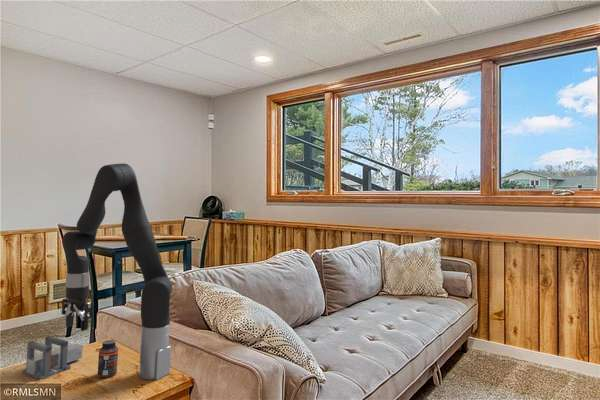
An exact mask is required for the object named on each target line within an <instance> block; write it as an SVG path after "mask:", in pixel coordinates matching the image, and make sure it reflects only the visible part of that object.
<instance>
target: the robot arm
mask: <svg viewBox="0 0 600 400" xmlns="http://www.w3.org/2000/svg"><path fill="white" fill-rule="evenodd" d="M137 179H138V178H137V176H136V172H135V171H134V168H133V167H132V166H131V165H129V164H128V163H125V162H123V163H112V164H106V165H103V166H102V167H100V168H99V170H98V172H97V174H96V176H95V178H94V181H93V185H92V189H91V191H90V195H89V198H88V201H87V204H86V206H85V208H84V210H83V211H82V213H81V215H80V217H79V218H78V220H77V222H76V229H77V230H75V231H73V230H72V231H67V232H66V233H64V234H63V236H62V238H61V239H62V240H61V244H62V248H63V250H64V251H63V252H64V253H65V259H66V277H65V298H62V302H61V315H64V317H65V327H66V328H69V327H73V325H74V323H73V322H74V319H73V318H74V314H76V315H77V316H79V318H80V331H82V332H83V331H84V332H85V331H87V330H88V328H89V319H90V320H91V319H93V318H94V316H93V315H94V314H93V313H94V311H93V309H94V308H93V301H88V302H87V298H88V297H89V296H90V259H89V257H88V256H86V255H79V254H78V251H81V250H89V249H90V248H92V247H93V246H94V245H95V243H96V238H97V233H98V229H99V228H100V226H101V224H102V223H103V221H104V219H105V216H106V201H107V199H108V198H109V196H110V195H111V194H112V193H113V192H118V191H120V194H121V197H122V200H123V205H124V206H123V208H124V210H123V215H122V219H121V233H122V236H123V238H124V241H125V244H126V246H127V248H128V251H129V252H130V254H131V256H132V258H133V259H134V260H135V262H136V263H137V264H138V267H139V269H140V271H141V274H142V278H143V281H144V286H143V288H142V290H141V297H140V318H141V327H140V328H141V330H140V331H141V332H140V349H139V351H140V352H139V370H138V371H139V373H138V375H139V377H140V378H141V379H142V380H156V381H158V380H159V379H161V378H164V377H165V376H167V375H169V374H170V373H171V356H172V355H171V352H172V345H170V329H171V328H170V324H171V323H170V322H171V316H170V305H171V304H170V301H171V295H172V293H173V284H172V282H171V280H170V278H169V277H168V276H169V275H168V273H167V272H166V270H165V267H164V266H163V264H162V263H163V262H162V260H161V257H160V252H159V249H158V245H157V243H156V238H155V235H154V232H153V230H152V229H153V228H152V227H151V223H150V221H149V218H148V217H147V212H146V209H145V207H144V204H143V200H142V196H141V191H140V188H139V183H138V180H137Z"/></svg>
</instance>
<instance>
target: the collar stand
mask: <svg viewBox="0 0 600 400" xmlns="http://www.w3.org/2000/svg"><path fill="white" fill-rule="evenodd" d="M44 340H45V341H44V343H45V344H43V343H40V342H36V341H28V342H27V343H26V344H27V346H26V360H27V359H29V358H32V357H35V350H36V351H39V352H42V354H43V362H42V372H41V373H38V374H35V375H33V374H30V373H27V362H26V365H25V366H26V367H25V369H23V370H21V372H22V373H21V374H23V375H26V376H29V377H30V378H34V377H35V378H34V379H36V378H37V380H40V381H42V380H44V379H47V378H49V377H52V376H54V375H57V374H60V373H62V371H63V372H64V371H65V372H66V371H67V370H70V369H71V365H69V364H68V363H67V351H68V346H69V341H68V340H65V339H62V338H58V337H54V336H52V335H51V336H50V335H49V336H46V337H45V338H44ZM53 345H57V346H59V347H60V348H61V351H60V366H58V367H55V368H52V369H50V352H51V351H53Z"/></svg>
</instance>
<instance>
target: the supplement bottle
mask: <svg viewBox="0 0 600 400" xmlns="http://www.w3.org/2000/svg"><path fill="white" fill-rule="evenodd" d="M116 345H117V344H116V340H114V339H107V340H103V342H102V347H101V348H99V351H98V360H97V361H98V363H97V377H99V378H102V379H103V378H104V379H106V378H107V379H108V378H111V377H114V376H115V375H117V372H118V358H119V357H118V356H119V347H117V346H116Z"/></svg>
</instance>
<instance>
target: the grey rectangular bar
mask: <svg viewBox="0 0 600 400" xmlns="http://www.w3.org/2000/svg"><path fill="white" fill-rule="evenodd" d="M83 347H84V346H83V345H81V344H79V343H73V344H68V351H67V364H68V363H71V362H75V361H77V360H79V359H83ZM60 351H61V347H60V348H57V349H54V350H52V351H51V352H50V369H52V368H55V367H58V366H60ZM42 362H43V353H41V354H38V355H36V356H35V355H34V357H32V358H29V359H27V358H26V363H27V373H30V374H33V375H35V374H38V373H41V372H42Z"/></svg>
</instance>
